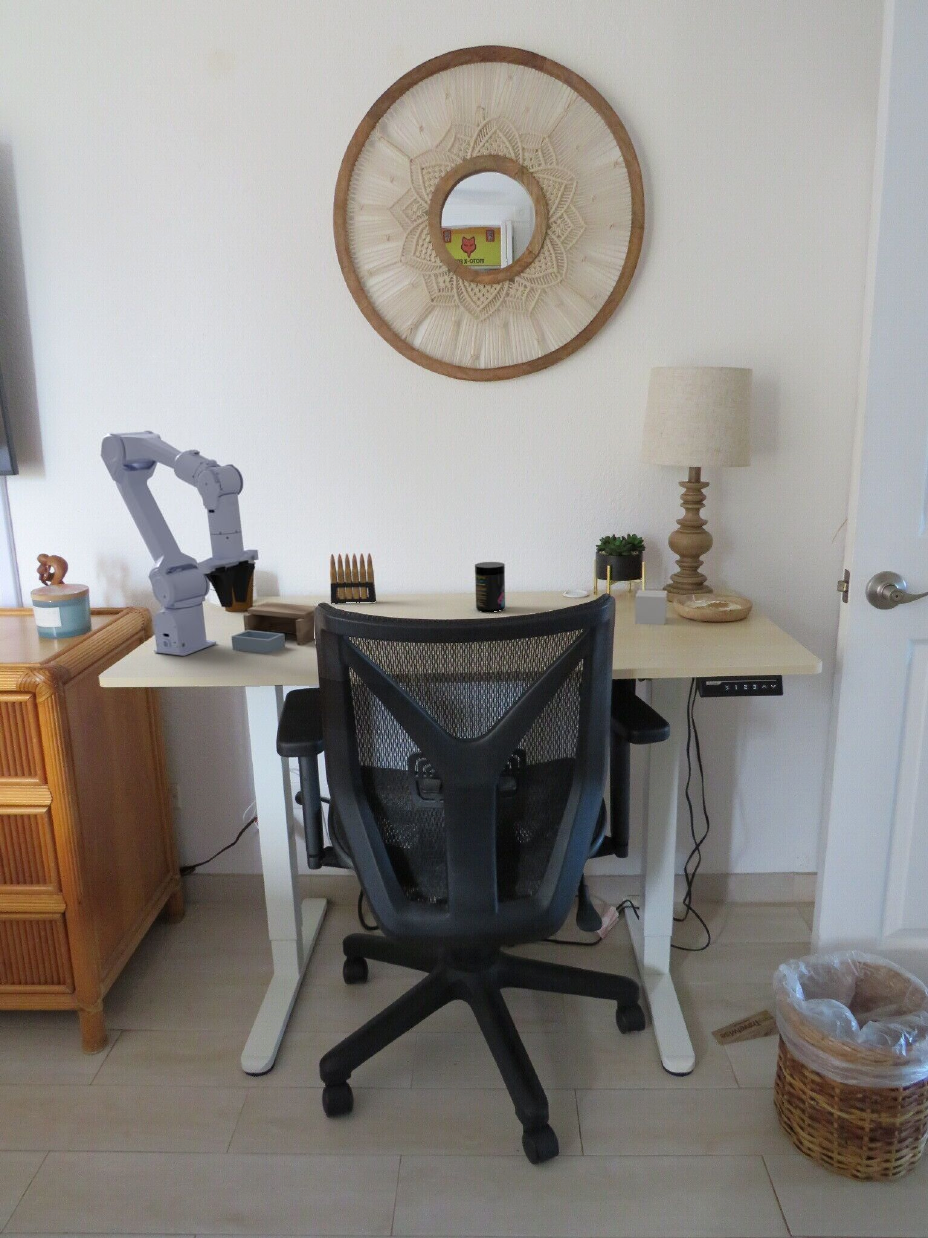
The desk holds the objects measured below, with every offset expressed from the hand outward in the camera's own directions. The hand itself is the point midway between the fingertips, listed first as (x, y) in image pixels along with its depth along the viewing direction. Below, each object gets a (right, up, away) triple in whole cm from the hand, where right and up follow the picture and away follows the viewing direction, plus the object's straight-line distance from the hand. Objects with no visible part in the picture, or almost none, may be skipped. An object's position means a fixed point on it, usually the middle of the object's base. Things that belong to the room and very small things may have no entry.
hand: (234, 604), depth 161 cm
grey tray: (+3, -9, +9) cm, 13 cm away
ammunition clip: (+17, +1, +44) cm, 47 cm away
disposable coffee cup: (-10, -1, +42) cm, 43 cm away
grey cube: (+83, -3, +20) cm, 85 cm away
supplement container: (+49, -1, +34) cm, 60 cm away
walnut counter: (+6, -6, +16) cm, 18 cm away
